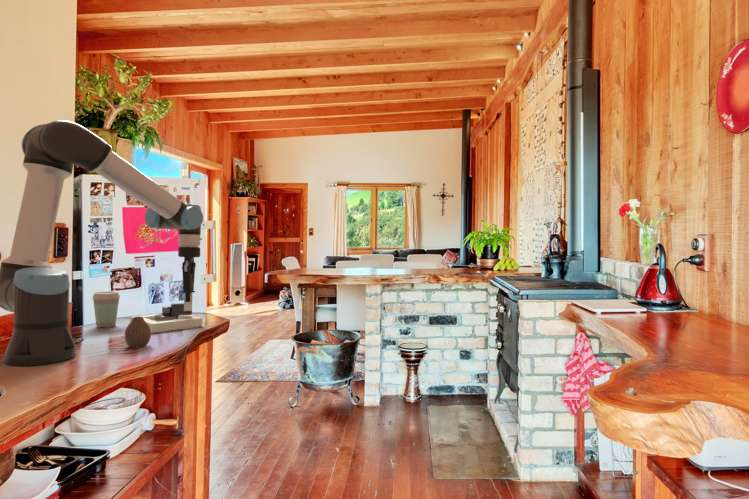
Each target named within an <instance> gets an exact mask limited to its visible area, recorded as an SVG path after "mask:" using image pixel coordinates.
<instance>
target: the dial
mask: <svg viewBox="0 0 749 499" xmlns="http://www.w3.org/2000/svg"><path fill="white" fill-rule="evenodd" d="M157 314H158V315H155V316H154V321H156V322H160V321H168V320H174V319H178V315H192V316H193V310H192V311H184V302H179V303H178V302H177V303H170V306H162V307H161V313H157Z"/></svg>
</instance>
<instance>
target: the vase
mask: <svg viewBox="0 0 749 499" xmlns="http://www.w3.org/2000/svg"><path fill="white" fill-rule="evenodd" d="M133 317H134V318H133V320H132V321H131V323H130V322H129V323H128V325H127V327H126V328H125V331H124V341H125V343H126V345H127V346H128V347H129V348H131V349H140V348H141V349H142V348H144V347H146V346H147V345H148V344H149V343H150V340H151V337H152V333H151V330H150V327H149V325H148V324H147V323H146V322H145V321H144V319H143V317H135V316H133Z"/></svg>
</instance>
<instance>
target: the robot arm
mask: <svg viewBox="0 0 749 499" xmlns="http://www.w3.org/2000/svg"><path fill="white" fill-rule="evenodd" d="M112 147H113V146H112V145H110V143H108V142H107V141H105V140H104V139H103V138H101V137H99V136H98V135H97V134H95V133H94V132H93V131H90V130H89V129H88V128H86V127H84V126H83V125H81V124H79V123H76V122H74V121H70V120H65V119H58V120H54V121H51V122H48V123H44V124H38V125H36V126H33V127H32V128H30V129H29V130H27V132H26V133H25V134H24V135H23V138H22V140H21V150H22V152H23V155H24V156H23V157H24V158H23V162H22V166H23V167H24V168H25V170H26V171H27V174H26V175H27V176H26V178H25V179H26V180H25V185H24V189H23V193H22V194H23V195H22V199H21V203H20V207H19V208H20V209H19V212H18V218H17V223H16V227H15V230H14V236H13V240H12V244H11V250H10V254H9V256H8V257H5V258H4V259H2V261H0V262H1V263H0V308H1V309H2V310H5V311H8V312H11V313H13V332H12V335H11V338H10V340H9V342H8V345H7V347H6V350H5V352H4V363H5V364H6V365H10V366H24V367H25V366H40V365H47V364H54V363H59V362H63V361H67V360H69V359H72V358H75V356H76V355H77V348H76V344H75V341H74V338H73V336H72V333H71V331H70V328H69V315H70V314H69V313H70V312H69V311H70V310H69V308H70V307H69V306H70V304H69V303H70V285H71V283H70V279H69V274H68V272H67V271H65V270H63V269H60V268H53V266H52V265H51V264H50V262H49V261H48V260H49V255H50V251H51V250H50V249H51V245H52V240H53V235H54V230H55V225H56V222H57V221H56V220H57V216H58V211H59V206H60V201H61V196H62V193H63V189H64V188H63V186H64V181H65V180H67V179H68V178H69V177H71V176H72V175H73V169H74V165H75V166H78V167H80V168H82V169H83V170H85V171H87V172H89V173H96V174H98V175H100V176H101V177H102V178H103V179H105V180H107V181H108V182H110V183H111V184H113V185H114V186H116V187H117V188H119V189H121V191H124V192H125V194H126V193H127V194H128V195H130V196H131V197H133V198H134V199H136V200H137V201H138V202H140V203H142V205H144V206H146V207H147V209H146V211H145V212H144V213H145V214H144V222H145V225H146V226H147V227H148V228H150V229H156V230H159V229H162V230H178V238H177V239H178V241H177V245H178V246H179V247H178V248H177V250H178V251H177V254H178V257H179V258H184V259H183V262H182V265H181V271H182V291H181V293H182V294H184V295H183V303H184V311H192V312H193V298H194V296H193V293H195V292H196V290H195V273H196V262H195V258H200V257H201V248H200V247H199V246H201V241H203V237H201V231H202V230H201V228H202V227H201V226H202V224H203V222H204V214H203V212H202V208H201V206H200V205H199V204H196V203H195V204H194V203H184V202H183V201H182V200H180V199H179V198H178V197H176V196H175V195H173V194H172V193H171V192H169V191H168V190H166V189H165V188H164V187H162V186H161V185H160V184H158V183H157V182H155V181H154V180H153V179H152V178H150V177H149V176H147V175H145V173H143V172H141V170H139V169H138V168H136V167H135V166H133V165H132V164H131V163H129V162H128V161H127V160H126V159H124V158H122V157H121V156H120V155H118V154H117V153H116V152H114V151H113V148H112Z"/></svg>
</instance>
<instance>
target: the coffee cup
mask: <svg viewBox="0 0 749 499" xmlns="http://www.w3.org/2000/svg"><path fill="white" fill-rule="evenodd" d="M91 299H92V300H93V310H94V318H95V326H97V327H110V328H113V327H116V324H117V316H118V310H119V301H120V299H121V297H120V294H119V292H118V291H97V292H94V293H93V296H92V298H91ZM97 327H96V328H97Z"/></svg>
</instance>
